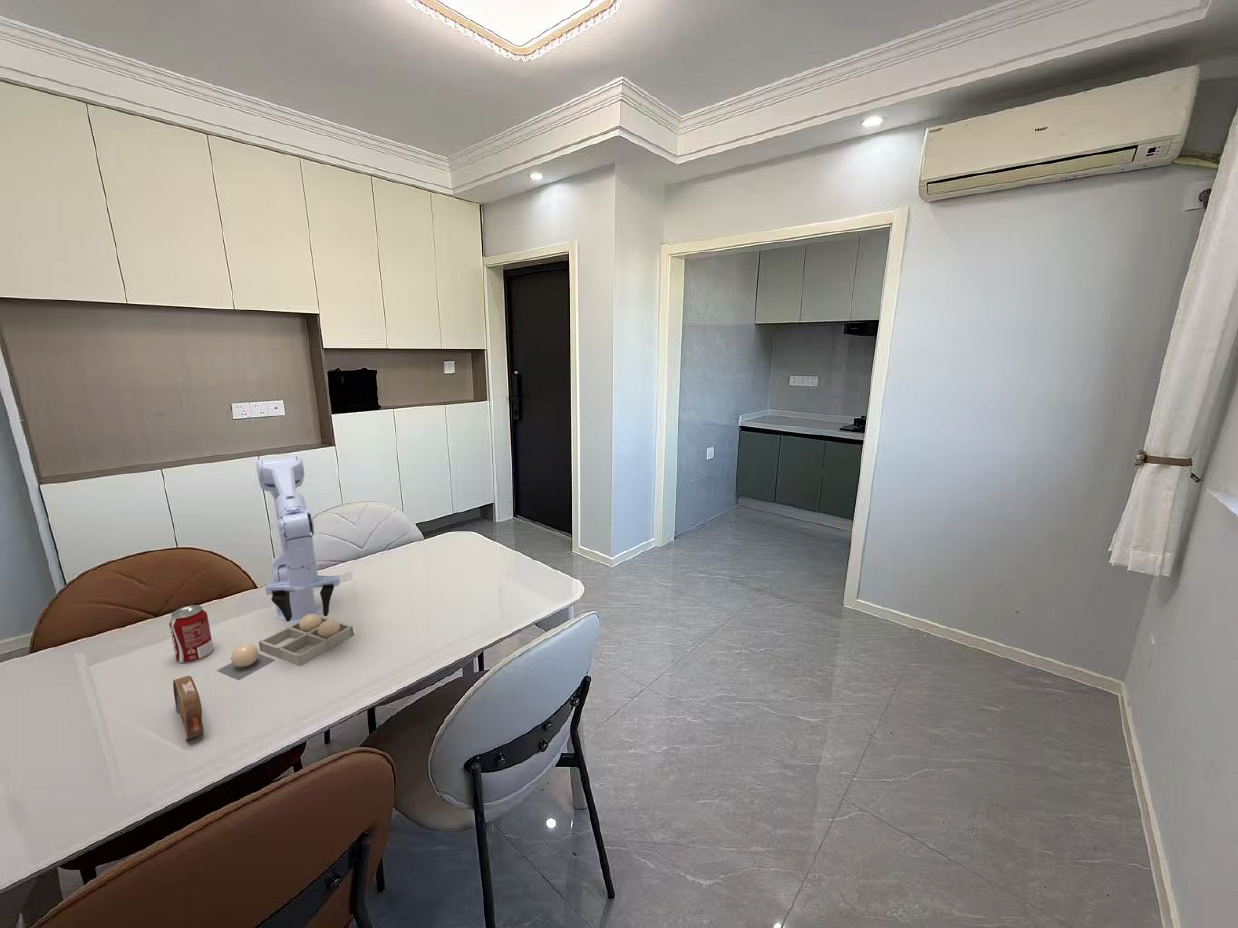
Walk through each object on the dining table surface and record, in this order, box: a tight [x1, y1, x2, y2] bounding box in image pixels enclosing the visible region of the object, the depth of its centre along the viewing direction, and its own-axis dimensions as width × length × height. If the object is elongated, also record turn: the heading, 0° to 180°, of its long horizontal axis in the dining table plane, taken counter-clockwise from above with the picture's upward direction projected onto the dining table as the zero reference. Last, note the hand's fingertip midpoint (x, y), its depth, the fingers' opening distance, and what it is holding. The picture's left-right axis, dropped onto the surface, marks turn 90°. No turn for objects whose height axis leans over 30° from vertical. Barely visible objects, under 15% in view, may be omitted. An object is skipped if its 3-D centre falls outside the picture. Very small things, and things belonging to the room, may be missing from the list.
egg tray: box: [258, 615, 354, 667], centre depth 124 cm, size 14×14×3 cm
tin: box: [172, 675, 205, 741], centre depth 96 cm, size 15×3×8 cm, turn 47°
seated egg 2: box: [318, 619, 341, 639], centre depth 125 cm, size 5×5×5 cm
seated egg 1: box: [299, 613, 322, 633], centre depth 128 cm, size 5×5×5 cm
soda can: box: [168, 604, 214, 664], centre depth 117 cm, size 7×7×12 cm
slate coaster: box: [216, 652, 276, 681], centre depth 115 cm, size 8×8×1 cm
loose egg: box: [230, 643, 259, 667], centre depth 114 cm, size 5×5×5 cm
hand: (308, 616), depth 118 cm, fingers open, 7 cm apart
